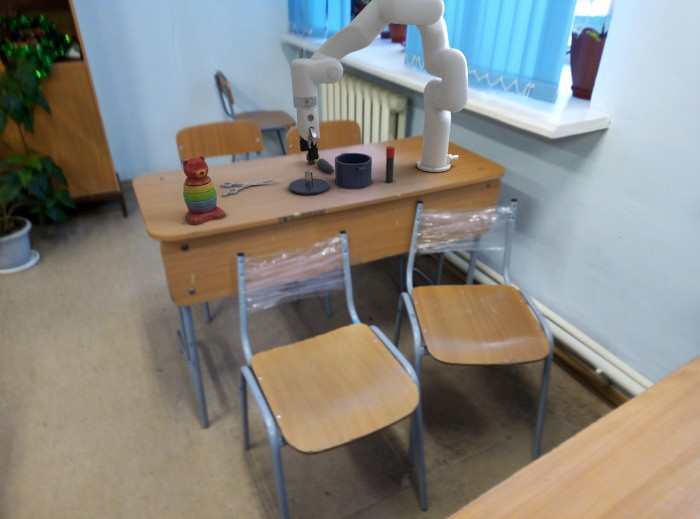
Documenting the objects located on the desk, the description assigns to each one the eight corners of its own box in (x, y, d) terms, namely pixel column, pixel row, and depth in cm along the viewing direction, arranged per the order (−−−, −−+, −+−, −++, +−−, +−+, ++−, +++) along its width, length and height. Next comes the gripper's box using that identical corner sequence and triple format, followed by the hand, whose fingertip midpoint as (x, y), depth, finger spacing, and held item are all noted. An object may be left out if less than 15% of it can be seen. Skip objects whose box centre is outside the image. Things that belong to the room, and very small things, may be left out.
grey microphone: (341, 172, 176) (341, 159, 174) (330, 175, 174) (330, 162, 171) (311, 159, 190) (311, 147, 187) (301, 162, 187) (300, 149, 185)
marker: (391, 179, 170) (392, 145, 164) (394, 182, 168) (396, 148, 161) (384, 180, 169) (385, 146, 163) (387, 183, 167) (388, 149, 161)
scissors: (216, 183, 165) (272, 174, 172) (216, 185, 165) (272, 176, 173) (223, 194, 157) (281, 184, 164) (223, 196, 157) (281, 186, 164)
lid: (322, 179, 171) (321, 162, 168) (334, 192, 160) (334, 174, 157) (285, 184, 167) (283, 166, 164) (295, 198, 156) (293, 180, 153)
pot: (360, 171, 177) (360, 149, 173) (380, 188, 163) (380, 164, 158) (328, 175, 173) (327, 153, 169) (345, 193, 159) (344, 169, 155)
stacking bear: (192, 226, 138) (180, 166, 129) (180, 214, 145) (169, 157, 136) (227, 217, 143) (219, 159, 134) (214, 205, 151) (206, 150, 142)
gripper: (325, 106, 143) (328, 161, 152) (309, 95, 157) (312, 146, 166) (301, 109, 141) (305, 164, 150) (287, 97, 155) (291, 149, 164)
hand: (309, 155), depth 158 cm, fingers open, 9 cm apart
